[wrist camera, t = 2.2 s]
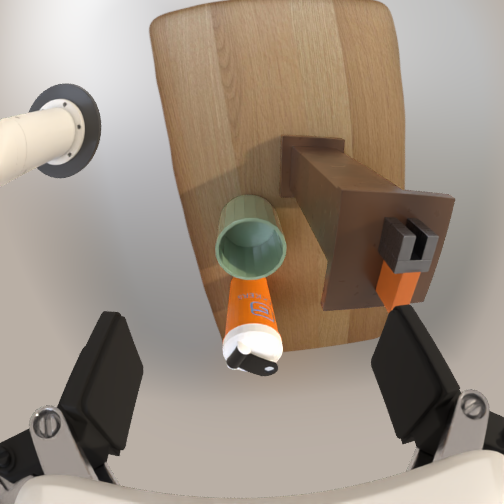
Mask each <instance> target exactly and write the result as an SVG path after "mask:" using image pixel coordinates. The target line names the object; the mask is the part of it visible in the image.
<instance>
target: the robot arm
mask: <svg viewBox="0 0 504 504" xmlns="http://www.w3.org/2000/svg"><path fill="white" fill-rule="evenodd" d="M66 104H67V105H66ZM80 126H81V127H80ZM84 134H85V124H84V119H83V116H82V113H81V111H80V110H79V108H78V107H77V106H76V105H75V104H74V103H73V102H71V101H69V100H66V99H55V100H52V101H50V102H48V103H46V104H45V105H44V106H43V107H42V108H41V109H40V110H39V111H34V112H29V113H25V114H20V115H16V116H12V117H8V118H3V119H0V187H2V186H3V185H5V184H7V183H8V182H10V181H12V180H14V179H16V178H18V177H19V176H21V175H23V174H25V173H27V172H29V171H31V170H32V169H35V168H37V167H39V166H41V165H43V164H45V163H48V164H52V165H60V164H64V163H66V162H68V161H69V160H71V159H72V158H73V157H74V156H75V155H76V154H77V153H78V151H79V150H80V148H81V146H82V143H83V140H84ZM371 366H372V369H373V372H374V374H375V377H376V380H377V382H378V385H379V388H380V390H381V393H382V396H383V399H384V401H385V404H386V407H387V409H388V413H389V416H390V418H391V421H392V424H393V427H394V430H395V433H396V436H397V437H398V438H399V439H401V441H402V444H406V443H409V442H412V441H415V443H416V446H417V447H416V449H415V452H414V454H413V456H412V459H411V461H410V464H409V466H408V468H407V470H406V472H403V473H400V474H396V475H393V476H390V477H386V478H383V479H379V480H375V481H372V482H368V483H364V484H359V485H355V486H351V487H345V488H340V489H334V490H329V491H323V492H316V493H309V494H301V495H291V496H280V497H264V498H212V497H195V496H184V495H175V494H166V493H160V492H153V491H147V490H141V489H135V488H130V487H125V486H120V484H119V483H118V481H117V479H116V477H115V476H114V474H113V472H112V471H111V469H110V467H109V466H108V464H107V458H108V454H111V455H115V456H119V455H120V450H124V448H125V446H126V441H127V437H128V432H129V428H130V423H131V419H132V415H133V411H134V407H135V403H136V399H137V395H138V391H139V387H140V383H141V380H142V375H143V365H142V362H141V360H140V357H139V355H138V352H137V350H136V347H135V344H134V342H133V339H132V336H131V333H130V330H129V328H128V325H127V322H126V319H125V317H123V316H121V314H120V313H118V312H107V311H104V312H103V313H102V314H101V316H100V318H99V320H98V322H97V324H96V326H95V328H94V330H93V332H92V334H91V336H90V338H89V340H88V342H87V344H86V346H85V347H84V348H83V349H82V351H81V353H80V355H79V357H78V360H77V362H76V364H75V366H74V368H73V371H72V373H71V375H70V377H69V380H68V382H67V384H66V387H65V389H64V392H63V394H62V396H61V399H60V401H59V404H58V406H57V407H54V406H47V405H46V406H43V407H40V408H39V409H37V410H36V411H35V412H34V413H33V414H32V416H31V418H30V423H29V429H27V430H25V431H23V432H21V433H19V434H17V435H16V436H14V437H11V438H9V439H7V440H5V441H3V442H1V443H0V504H504V417H502V416H500V415H497V414H495V413H493V412H491V411H489V404H488V401H487V399H486V397H485V396H484V395H483V394H482V393H480V392H478V391H477V390H472V389H470V390H466V391H464V392H462V393H461V392H460V390H459V389H460V387H459V385H458V383H457V381H456V379H455V378H454V376H453V374H452V372H451V370H450V369H449V367H448V365H447V363H446V362H445V360H444V358H443V356H442V354H441V353H440V351H439V349H438V348H437V346H436V344H435V342H434V341H433V339H432V337H431V336H430V334H429V333H428V331H427V329H426V328H425V326H424V325H423V323H422V322H421V320H420V319H419V317H418V315H417V313H416V312H415V311H414V309H413V307H412V306H411V305H409V304H408V305H399V306H395V307H394V308H393V310H391V311H390V312H389V315H388V318H387V320H386V323H385V326H384V329H383V331H382V334H381V336H380V339H379V342H378V344H377V347H376V349H375V352H374V354H373V356H372V359H371Z"/></svg>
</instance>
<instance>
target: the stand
mask: <svg viewBox="0 0 504 504" xmlns="http://www.w3.org/2000/svg"><path fill="white" fill-rule="evenodd" d="M344 143H345V140H344V139H342V138H331V137H317V136H299V135H281V154H280V183H279V195H280V197H295V199H296V200H297V202H298V204H299V206H300V208H301V210H302V212H303V213H304V215H305V217H306V219H307V221H308V223H309V225H310V227H311V229H312V231H313V233H314V235H315V237H316V238H317V240H318V242H319V244H320V246H321V248H322V250H323V252H324V254H325V256H326V258H327V260H328V263H327V270H326V276H325V282H324V288H323V294H322V299H321V306H322V308H323V311H331V310H345V309H358V308H369V307H380V306H384V304H383V302H382V301H381V299H380V297H379V296H378V294H377V292H376V287H377V283H378V279H379V276H380V272H381V268H382V264H383V260H384V259H383V258H382V257H381V256H380V254H379V253H378V248H379V243H380V238H381V234H382V229H383V224H384V219H385V217H395V218H397V219H398V220H399V221H400V222H402V223H403V224H404V225H405V226H406V223H407V218H418V219H419V220H420V221H422V222H423V223H424V224H425V225H426V226H427V227H429V228H430V229H431V230H432V231H433V232H434V233H436V234H437V235H438V236H439V238H438V242H437V245H436V249H435V252H434V255H433V258H432V262H431V265H430V268H429V271H428V272H421V273H420V276H419V279H418V282H417V285H416V287H415V290H414V293H413V296H412V299H411V301H410V303H418V302H423V301H424V299H425V296H426V294H427V291H428V289H429V286H430V283H431V281H432V278H433V275H434V272H435V269H436V266H437V263H438V260H439V257H440V254H441V251H442V247H443V244H444V240H445V237H446V234H447V230H448V226H449V222H450V219H451V214H452V211H453V206H454V202H455V198H453V197H452V196H450V195H449V194H440V193H432V192H420V191H411V190H402V189H400V188H399V187H397V186H396V185H394V184H393V183H391V182H390V181H388V180H387V179H385V178H384V177H382V176H381V175H379V174H377V173H376V172H374V171H373V170H371V169H370V168H368V167H366V166H365V165H363V164H361V163H360V162H358V161H356V160H355V159H353V158H351V157H350V156H348V155H346V154H345V153H344Z"/></svg>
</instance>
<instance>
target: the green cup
mask: <svg viewBox="0 0 504 504" xmlns="http://www.w3.org/2000/svg"><path fill="white" fill-rule="evenodd" d="M286 246H287V245H286V242H285V238H284V235H283V232H282V228H281V225H280V222H279V219H278V216H277V213H276V210H275V209H274V207H273V206H272V204H271V203H270V202H268V201H267V200H266V199H264V198H262V197H260V196H256V195H242V196H238V197H236V198H234V199H232V200H231V201H229V202H228V203H227V204H226V205H225V207H224V208H223V210H222V212H221V215H220V218H219V224H218V231H217V238H216V245H215V250H216V258H217V260H218V262H219V264H220V266H221V267H222V268H223V269H224V270H225V271H226V272H227V273H228V274H230V275H232V276H234V277H236V278H239V279H243V280H258V279H261V278H264V277H267V276H269V275H270V274H272V273H274V272H275V271H276V270H277V269H278V268H279V267H280V266H281V264H282V263H283V260H284V258H285V256H286Z"/></svg>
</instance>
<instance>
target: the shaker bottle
mask: <svg viewBox="0 0 504 504" xmlns="http://www.w3.org/2000/svg"><path fill="white" fill-rule="evenodd" d="M282 351H283V347H282V339H281V336H280V334H279V333H278V329H277V324H276V320H275V316H274V311H273V307H272V302H271V298H270V294H269V289H268V285H267V280H266V278H265V277H264V278H261V279H258V280H243V279H239V278H236V277H233V278H232V280H231V284H230V293H229V302H228V312H227V322H226V332H225V337H224V339H223V355H224V358H225V359H226V364H227V366H228V367H229V368H231V369H240V370H243V371H248V372H250V373H253V374H257V375H260V376H269V375H272V374H274V373H275V372H277V370H278V366H277V364H276V362H277V360H278V359H279V358H280V357H281V355H282Z"/></svg>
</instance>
